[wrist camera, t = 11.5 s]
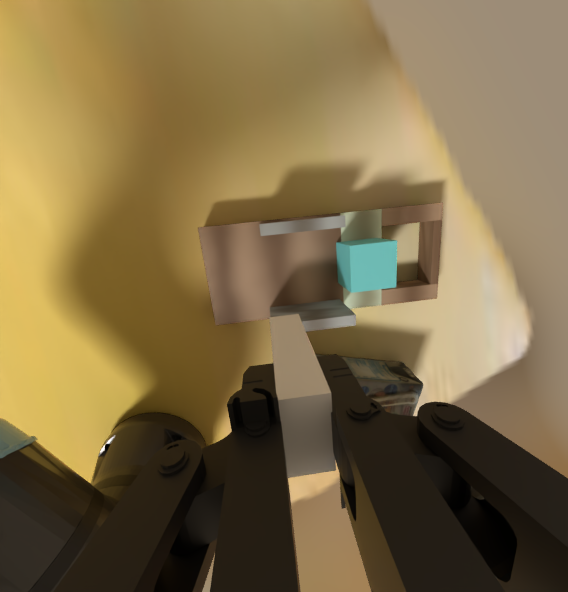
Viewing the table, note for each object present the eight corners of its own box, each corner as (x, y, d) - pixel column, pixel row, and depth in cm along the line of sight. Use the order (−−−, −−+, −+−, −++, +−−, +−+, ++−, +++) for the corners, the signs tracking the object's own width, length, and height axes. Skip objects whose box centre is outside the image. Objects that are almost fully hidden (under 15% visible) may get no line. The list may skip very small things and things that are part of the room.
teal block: (337, 282, 33) (351, 292, 28) (336, 242, 32) (349, 245, 27) (376, 278, 34) (396, 287, 29) (376, 237, 32) (397, 240, 27)
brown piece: (219, 317, 36) (206, 346, 28) (203, 227, 33) (182, 228, 24) (423, 292, 38) (471, 313, 29) (427, 204, 34) (483, 198, 26)
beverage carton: (390, 404, 43) (412, 436, 37) (273, 395, 41) (275, 427, 34) (403, 360, 41) (429, 385, 34) (280, 348, 39) (283, 373, 32)
